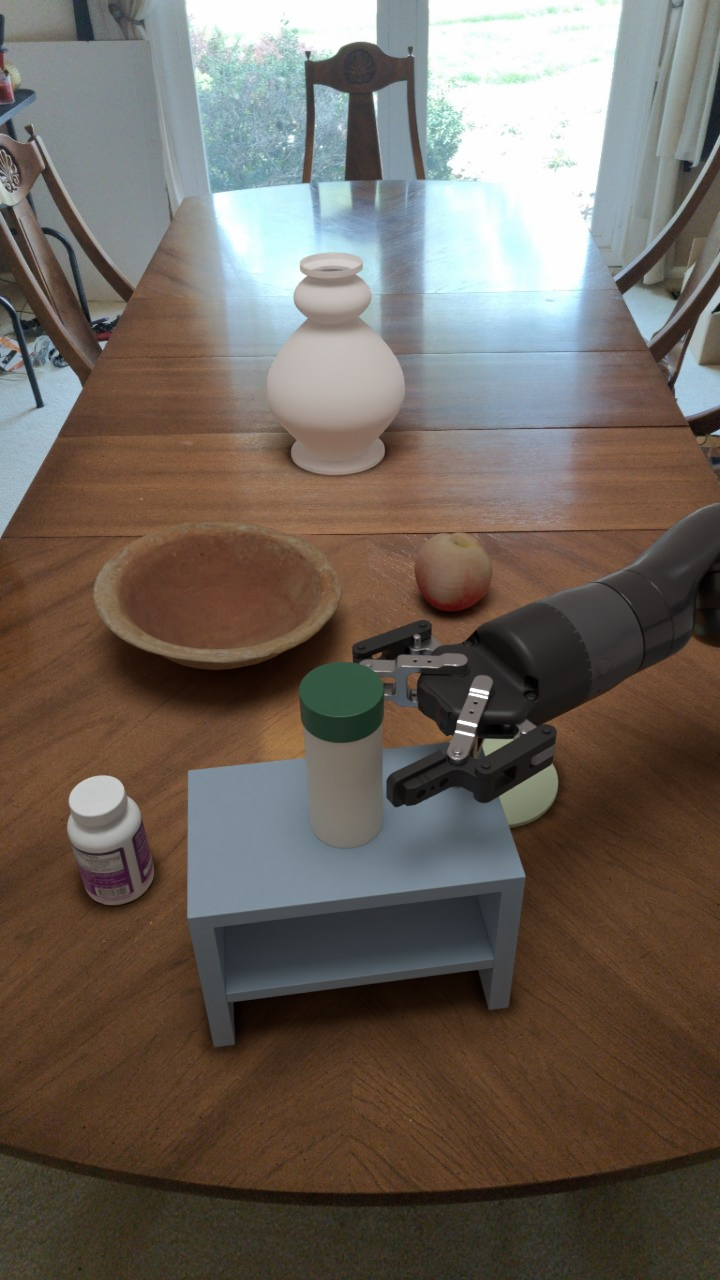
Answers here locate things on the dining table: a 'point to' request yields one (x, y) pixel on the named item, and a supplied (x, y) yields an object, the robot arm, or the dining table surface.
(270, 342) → the dining table surface
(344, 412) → the decorative vase
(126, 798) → the pill bottle
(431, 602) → the fruit
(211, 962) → the shelf
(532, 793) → the mat
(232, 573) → the bowl
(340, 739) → the spice bottle
